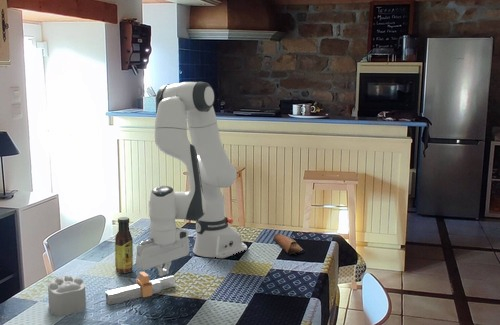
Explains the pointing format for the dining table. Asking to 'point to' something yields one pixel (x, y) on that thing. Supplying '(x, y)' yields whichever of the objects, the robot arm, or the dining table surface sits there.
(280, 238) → the brown tapered cylinder
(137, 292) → the bar
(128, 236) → the sauce bottle
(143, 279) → the collar
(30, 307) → the dining table surface
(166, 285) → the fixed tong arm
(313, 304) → the dining table surface
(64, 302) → the lumpy-topped squat cylinder
